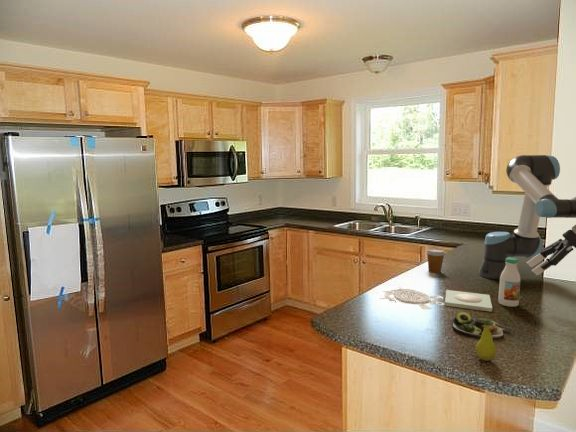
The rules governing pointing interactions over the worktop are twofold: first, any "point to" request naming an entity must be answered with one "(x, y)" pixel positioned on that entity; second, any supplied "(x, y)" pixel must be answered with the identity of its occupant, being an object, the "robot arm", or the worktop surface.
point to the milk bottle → (509, 284)
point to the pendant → (412, 297)
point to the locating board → (468, 300)
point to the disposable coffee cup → (435, 260)
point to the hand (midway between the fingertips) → (531, 269)
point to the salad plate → (476, 325)
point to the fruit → (486, 345)
